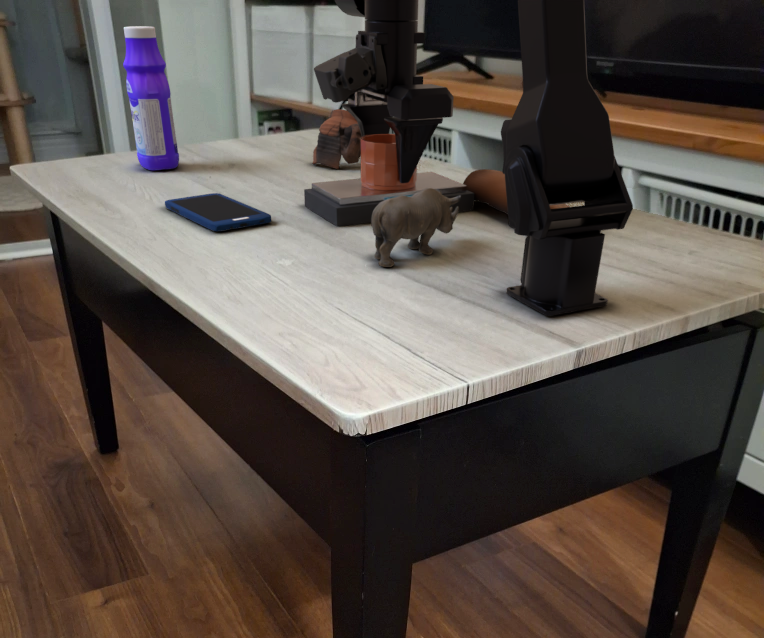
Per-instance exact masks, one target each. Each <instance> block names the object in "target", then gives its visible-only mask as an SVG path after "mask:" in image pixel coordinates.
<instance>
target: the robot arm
mask: <svg viewBox="0 0 764 638" xmlns="http://www.w3.org/2000/svg"><path fill="white" fill-rule="evenodd" d="M334 2H335V4H336V7H338V9H339V10H340V11H341V12H342V13H343V14H346V15H347V16H350V17H357V18H364V30H357V33H356V35H355V47H354V48H352V49H350V50H348V51H344V52H342V53H340V54H338V55H336V56H334V57H332V58H330V59H328V60H326V61H324V62H322V63H320V64H319V63H318V64H317V65H316V66H314V67H313V71H314V74H315V78H316V80H317V83H318V87H319V90H320V92H321V96H322V99H323V100H331V102H332V103H335V104H337V103H341V102H347V103H342V104H341V107H342V108H343V110H347V111H348V112H349V113H350V114H351V115H352V116H353V117H354V118H355V119H356V120H357V122H358V125H359V129H360V132H361V136H362V137H363V136H366V135H372V134H390V130H392V131H393V134H395V139H396V151H397V164H398V174H399V181H400V183H408V182H409V181H410V179H411V177H412V175H413V173H414V171H415V169H416V167H417V168H418V165H419V162H420V161H421V158H422V156H423V154H424V152H425V150H426V148H427V147H428V145H429V142H430V140H431V139H432V136H433V135H434V133H435V131H436V129H437V127H438V126H439V125H441V124H443V121H444V119H445V118H452V117H453V115H454V99H455V98H454V95H453V94H452V92H451V91H450V90H449V88H448V87H446V86H442V85H437V84H433V83H424V76H423V75H419V74H417V59H418V45H419V44H421V45H422V44H425V40H426V32H423V31H418V30H419V28H418V27H419V25H418V24H419V21H418V20H419V0H334ZM517 10H518V26H519V41H520V42H519V43H520V58H521V72H522V74H521V75H522V94H521V96H520V99H519V101H518V103H517V106H516V108H515V110H514V113H513V115H512V117H511V119H504V121H503V122H502V125H501V129H500V136H501V143H502V144H501V145H502V152H503V163H502V170H501V172H503V174H505V185H506V197H507V210H508V214H507V219H508V225H509V227H510V228H512V229H514V234H516V235H517V236H526V237H525V238H524V247H523V256H522V264H521V273H520V285H519V284H518V285H515V286H508V287H506V293H505V294H506V295H507V296H510V297H511V298H514V299H515V300H517V301H519V302H520V303H522V304H523V305H526V306H528V307H530V308H531V309H533V310H535V311H536V312H539V313H540V314H542V315H544V316H547V317H552V316H558V315H563V314H569V313H570V314H571V313H574V312H575V313H576V312H580V311H586V310H590V309H597V308H602V307H606V306H608V301H609V300H608V298H606V297H605V296H602V295H600V294H598V293H596V289H597V284H598V278H599V272H600V267H601V266H600V265H601V260H602V254H603V249H604V244H605V243H604V242H605V237H606V234H605V233H603V232H602V231H610V230H624V229H625V227H626V225H627V223H628V220H629V219H630V216H631V214H632V212H633V208H634V205H633V202H632V199H631V196H630V194H629V191H628V189H627V186H626V183H625V180H624V177H623V175H622V172H621V169H620V167H619V164H618V162H617V158H616V156H615V150H614V148H615V147H614V142H613V135H612V129H611V122H610V115H609V112H608V111H607V109H606V108H605V106H604V104H603V102H602V101H601V99H600V98H599V95H598V94H597V92H596V91H595V90H594V88H593V86H592V84H591V82H590V81H589V77H588V65H587V63H588V61H587V41H586V40H587V39H586V38H587V37H586V15H585V14H586V13H585V0H517ZM576 203H584V204H583V205H575V206H570V207H565V208H557V209H551V208H550V205H559V204H566V205H568V204H576Z"/></svg>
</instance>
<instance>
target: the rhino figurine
mask: <svg viewBox="0 0 764 638" xmlns="http://www.w3.org/2000/svg"><path fill="white" fill-rule="evenodd" d="M460 198H461V196H460V195H459V196H457V197H454V198H447V197H445V196H444V195H442V192H441V190H440V189H437V190H435V189H432V188H426V189H423V190H422V191H420V192H418V193H416V194H414V195H413V196H411V197H407V196H398V197H394V198H390V199H387V200H384V201H382V202H380V203H379V204H378V205H377V206H376V207H375V209H374V211H373V213H372V218H371V223H370V224H371V228H372V233H373V235H374V236H375V242H374V243H375V244H374V245H375V253H374V259H376V260H379V261H378V266H380V267H385V268H391V267H393V266H395V263H396V262H395V261H394V259H393V258H391V253H392V250H393V249H394V247H395V246H396V244H397V243H398V242H399V241H400V240H401V239H403V240H409V241H408V243H407V248H408V249H411V250H417V249H418V252H419V253H420V254H424V255H427V256H428V255H431V254H433V251H434V250H433V248H432V247H430V245H429V242H430V240H431V238H432V237H433V236H434V234H435V232H436V230H438V231H440V232H441V233H443V234H449V233H451V232H452V231H453V229H454V227H453V226H454V222H455V220H456V218H457V217H458V214H459V212H458V210H459V207H456V209H455V211H454V212H453V213H452V207H450V206H451V205H453V204H455V203H457V202H459V201H460Z"/></svg>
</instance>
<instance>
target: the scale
mask: <svg viewBox="0 0 764 638" xmlns="http://www.w3.org/2000/svg"><path fill="white" fill-rule="evenodd" d="M426 188H432V189H435V190H437V189H440V190H441V192H442V195H444V196H445V197H447V198H454V197H457V196H459V195H460V196H461V198H460V201H459V202H457V203H455V204H453V205H451V206H450V207H452V213H453V212H454V211H455V209H456V207H459V210H458V213H461V212H462V213H464V212H471V211H472V212H473V211H474V205H475V204H474V203H475V201H474V193H473V192H470V191H468V190H466V189H467V186H466V185H464V184H463V182H459V181H457V180H455V179H452V178H449V177H446V176H443V175H441V174H440V173H436V172H433V171H425V172H417V181H416V186H415V187H413V188H410V189H405V190H394V191H386V190H374V189H369V188H366V187H363V186H362V185H361V177H360V178H351V179H340V180H339V179H338V180H330V181H329V180H328V181H320V182H319V181H318V182H311V188H304V189H303V191H304V197H303V198H304V207H305V208H307V209H308V210H310V211H312V212H313V213H314V214H316V215H318V216H319V217H321V218H323V219H324V220H326V221H327V222H329V223H330V224H332V225H333V226H336V227H344V226H345V227H346V226H352V225H363V224H369V223H370V224H372V223H371V218H372V213H373V211H374V209H375V207H376V206H377V205H378V204H379V203H380V202H382V201H384V200H387V199H390V198H394V197H398V196H407V197H411V196H413V195H414V194H416V193H418V192H420V191H422V190H423V189H426Z"/></svg>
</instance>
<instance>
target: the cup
mask: <svg viewBox="0 0 764 638" xmlns="http://www.w3.org/2000/svg"><path fill="white" fill-rule="evenodd" d="M360 148H361V155H360V178H361V185H362V186H363V187H366V188H369V189H374V190H386V191H394V190H405V189H410V188H413V187H415V186H416V181H417V173H418V166H417V167H416V169H415V171H414V173H413V175H412V177H411V179H410V181H409V182H408V183H400V181H399V174H398V164H397V151H396V139H395V133H389V134H372V135H366V136H363V137H361V138H360Z"/></svg>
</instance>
